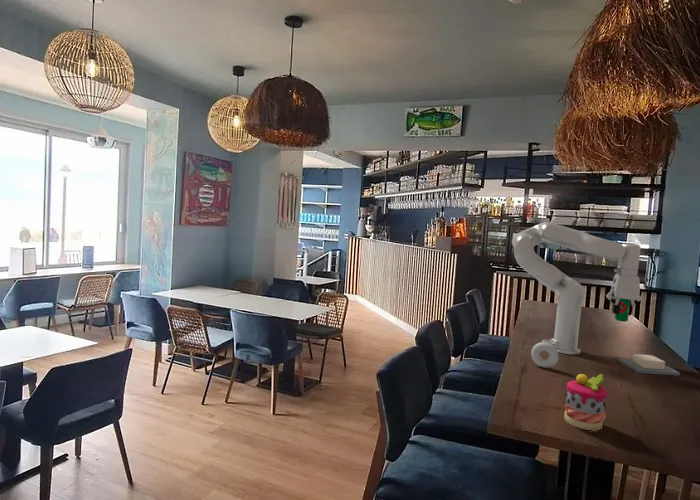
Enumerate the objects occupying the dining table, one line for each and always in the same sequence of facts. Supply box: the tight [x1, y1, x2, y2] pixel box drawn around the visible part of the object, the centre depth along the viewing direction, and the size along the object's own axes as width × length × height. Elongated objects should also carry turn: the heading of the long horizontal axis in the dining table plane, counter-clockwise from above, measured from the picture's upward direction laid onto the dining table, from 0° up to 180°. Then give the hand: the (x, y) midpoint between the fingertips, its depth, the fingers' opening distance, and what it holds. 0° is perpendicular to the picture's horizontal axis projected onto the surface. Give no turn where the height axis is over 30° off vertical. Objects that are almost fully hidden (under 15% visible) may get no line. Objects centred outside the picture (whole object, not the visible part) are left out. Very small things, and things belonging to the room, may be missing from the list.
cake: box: [563, 373, 608, 432], centre depth 130 cm, size 10×11×15 cm
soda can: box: [614, 299, 631, 323], centre depth 195 cm, size 5×5×12 cm
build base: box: [617, 353, 681, 376], centre depth 184 cm, size 16×14×4 cm
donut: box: [530, 341, 560, 369], centre depth 177 cm, size 10×4×10 cm, turn 55°
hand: (621, 313), depth 195 cm, fingers closed on soda can, 5 cm apart
